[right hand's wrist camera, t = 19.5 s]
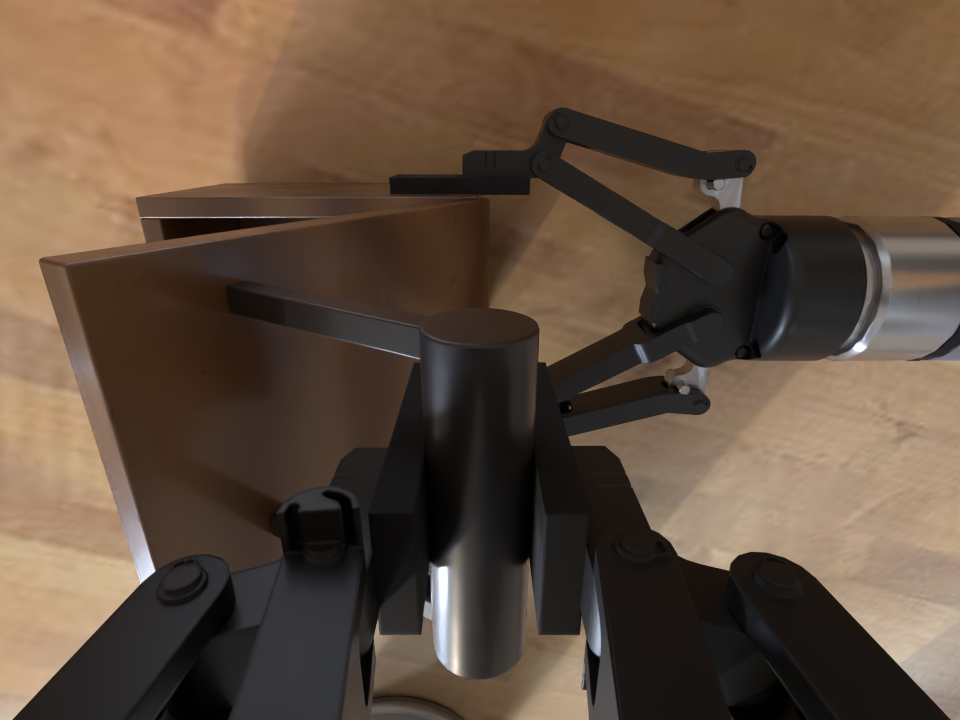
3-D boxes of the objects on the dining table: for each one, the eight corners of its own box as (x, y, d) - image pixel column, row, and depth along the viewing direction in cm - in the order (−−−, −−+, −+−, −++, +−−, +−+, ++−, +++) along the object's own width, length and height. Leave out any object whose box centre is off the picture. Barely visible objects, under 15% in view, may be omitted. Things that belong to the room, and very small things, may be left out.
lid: (151, 620, 14) (430, 843, 10) (35, 258, 10) (400, 343, 6) (468, 397, 27) (655, 449, 22) (466, 197, 23) (690, 210, 18)
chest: (251, 336, 35) (182, 398, 27) (224, 183, 32) (134, 197, 23) (474, 334, 36) (478, 394, 27) (473, 183, 32) (478, 196, 23)
